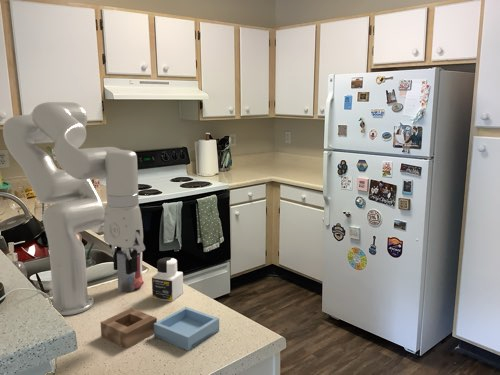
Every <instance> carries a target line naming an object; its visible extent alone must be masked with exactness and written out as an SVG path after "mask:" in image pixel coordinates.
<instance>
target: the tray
mask: <svg viewBox="0 0 500 375" xmlns="http://www.w3.org/2000/svg"><path fill="white" fill-rule="evenodd" d="M218 332H220V318H218V317H216V316H214V315H210V314H208V313H205V312H203V311H202V312H201V311H199V310H196V309H193V308H190V307H187V306H184V307H182V308H181V309H179V310H177V311H175V312H173V313H172V314H169V315H167V316H166V317H164V318H162V319H160V320H157V322H156V323H154V334H153V337H155V338H157V339H160V340H161V341H162V340H163V341H164V342H167V343H169V344H171V345H174V346H176V347H178V348H181V349H183V350H186V351H187V352H189V351H190V350H192V349H194V348H195V347H197V346H198V345H200V344H201V343H203V342H205V341H206V340H208V339H209V338H210V337H212V336H213V335H215V334H216V333H218Z"/></svg>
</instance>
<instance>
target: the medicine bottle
mask: <svg viewBox="0 0 500 375" xmlns="http://www.w3.org/2000/svg"><path fill="white" fill-rule="evenodd" d="M156 262H157V263H156V265H157V266H156V267H157V273H156V274H154V275H153V276H151V287H152V288H151V289H152V290H151V291H152V294H151V295H152V299H155V300H161V301H166V302H174V301H175V300H176V299H177V298H178V297H180V296H181V295H183V293H184V273H183V271H178V260H177V259H176V258H174V257H163V258H159V259H158V260H157V261H156Z"/></svg>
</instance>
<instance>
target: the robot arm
mask: <svg viewBox="0 0 500 375" xmlns="http://www.w3.org/2000/svg"><path fill="white" fill-rule="evenodd" d="M87 124H88V115H87V112H86V110H85V109H84V108H83V106H82V105H80V104H79V103H76V102H73V101H72V102H68V101H64V102H63V101H61V102H60V101H58V102H57V101H48V102H47V101H46V102H42V103H39V104H38V105H36V106H35V107H34V109H33V110H32V112H31V114H23V115H22V114H20V115H15V116H12V117H11V116H10V118H8V119H7V120H5V122H4V123H3V127H2V135H3V141H4V143H5V147H6V148H7V150H8V152H9V154H10V155H11V156H12V157H13V159H14V160H15V161H16V163H17V164H19V166H20V167H21V169H22V172H23V173H24V175H25V177H26V179H27V181H28V183H29V185H30V187H31V189H32V191H33V193H34V195H35V197H36V198H37V200H38V201H39V202H40V203H42V204H47V205H48V204H51V205H49V206H47V208H45V210H44V211H43V213H42V223H43V227H44V232H45V234H46V238H47V244H48V252H49V264H50V274H51V275H50V276H51V287H52V288H51V289H50V290H49V293H48V294H50V295H51V296H52V300H51V301H50V302H52V305H53V307H54V308H55V309H56V310H57V311H58V312H59V313H60V314H61V315H60V316H72V315H76V314H81V313H83V312H85V311H88V310H89V309H91V308H92V306H94V303H95V302H94V297H93V296H91V295H90V294H88V293H89V292H88V277H87V264H86V262H87V261H86V250H85V246H84V243H83V242H82V241H81V240H80V238H78V237H77V235H76V234H77V233H81V232H85V231H89V230H93V229H96V228H99V227H101V226H103V240H104V242H105V243H106V244H108V246H109V248H110V249H111V255H113V257H112V258H113V259H112V260H113V261H112V262H113V263H112V264H113V270H114V271H117V252H118V251H121V250H123V248H124V249H126V253H127V258H128V259H126V274H128V275H129V274H131V273H134V272H136V271H137V257H138V256H139V254H140V253H141V252H142V253H143V252H145V250H146V246H145V244H144V228H143V219H142V212H141V208H140V205H139V177H138V176H139V173H138V169H139V168H138V155H137V153H136V152H135V151H133V150H129V149H126V150H125V149H121V148H118V147H115V146H103V147H101V146H100V147H87V148H80V147H81V146H83V144H84V143H85V141H86V139H87V129H86V127H87ZM48 143H54V147H53V150H54V151H53V152H54V156H55V159H56V162H57V164H58V166H59V167H60V168H61V169H60V168H58V167H57V166H56V164H55V163H54V161H53V158H52V157H51V156H50V155H49V154H48V153H47V152H46V151H44V150H43V149H42V148H40V147H38V146H37V145H35V144H48ZM98 178H99V179H100V178H105V186H106V187H105V188H106V189H105V190H106V205H105V206H104V203H103V201H102V199H101V197H100V195H99V194H98V192H97V190H96V188H95V186H94V184H93V182H92V181H91V180H92V179H98ZM132 248H133V251H132V252H131V249H132Z"/></svg>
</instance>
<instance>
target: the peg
mask: <svg viewBox="0 0 500 375" xmlns="http://www.w3.org/2000/svg"><path fill="white" fill-rule="evenodd" d="M131 252H132V251H131ZM126 259H128V258H127V253H126V250H121V251H118V252H117V270H116V271H117V290H118V292H119V293H122V294H128V293H132V292H134V291H135V290H134V273H131V274H129V275H128V274H126Z"/></svg>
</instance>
